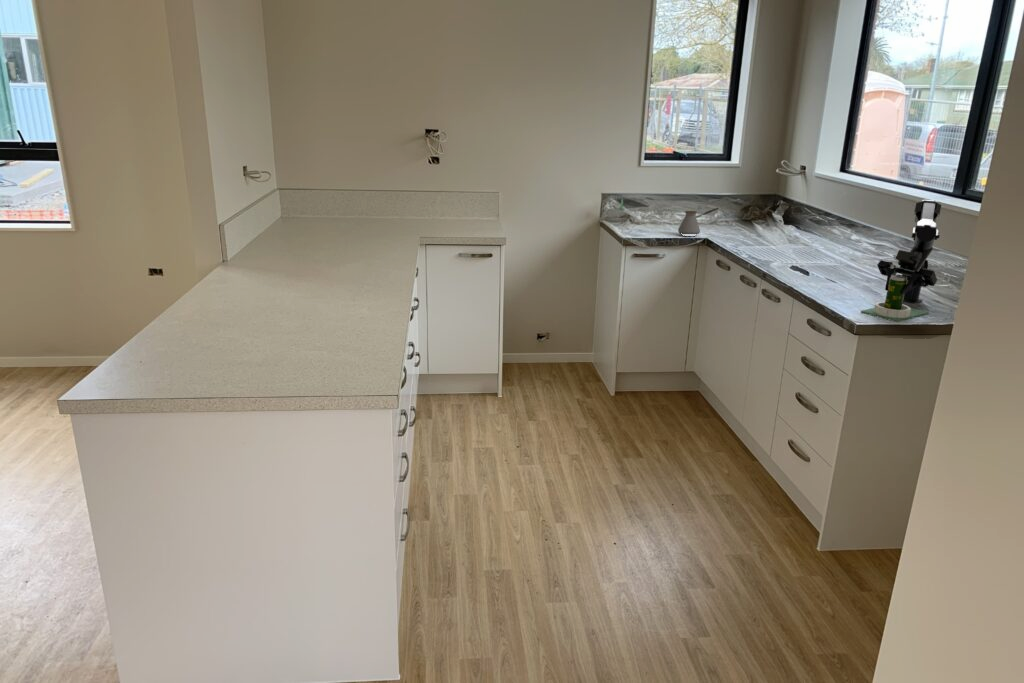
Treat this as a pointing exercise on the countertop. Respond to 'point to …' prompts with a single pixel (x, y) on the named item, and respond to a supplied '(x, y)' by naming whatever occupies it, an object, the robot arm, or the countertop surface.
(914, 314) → the putting mat
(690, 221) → the coffee pot
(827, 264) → the countertop surface
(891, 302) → the beer can
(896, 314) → the cup
